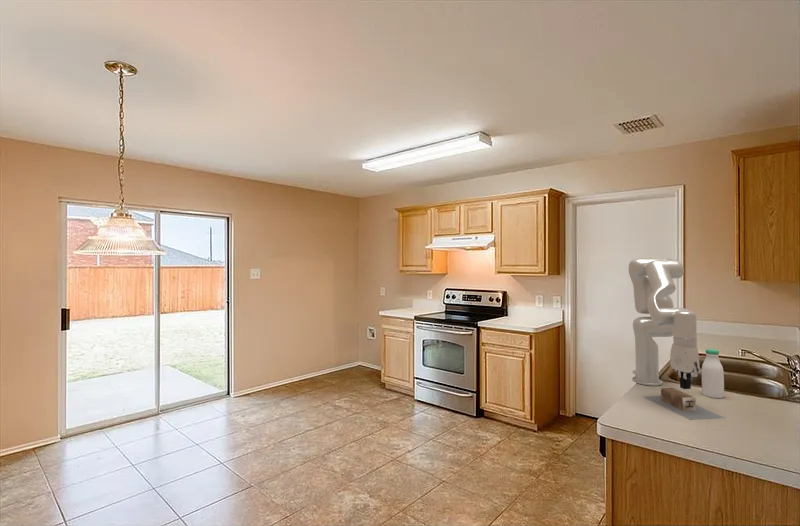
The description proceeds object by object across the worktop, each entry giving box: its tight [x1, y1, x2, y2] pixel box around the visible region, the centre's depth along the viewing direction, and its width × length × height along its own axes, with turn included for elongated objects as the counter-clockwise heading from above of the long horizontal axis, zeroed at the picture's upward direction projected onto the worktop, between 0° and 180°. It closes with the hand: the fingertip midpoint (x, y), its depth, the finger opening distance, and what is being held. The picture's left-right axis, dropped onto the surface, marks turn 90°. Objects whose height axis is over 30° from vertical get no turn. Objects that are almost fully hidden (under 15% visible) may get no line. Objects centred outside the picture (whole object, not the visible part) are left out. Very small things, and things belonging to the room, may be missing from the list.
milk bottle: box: [701, 348, 725, 399], centre depth 176 cm, size 8×8×20 cm
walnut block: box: [660, 387, 697, 411], centre depth 165 cm, size 5×5×12 cm
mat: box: [643, 395, 726, 421], centre depth 163 cm, size 26×14×1 cm, turn 5°
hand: (685, 388), depth 161 cm, fingers closed
